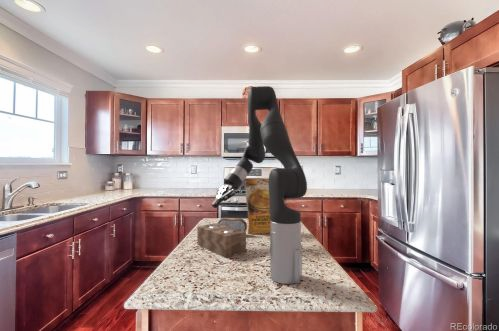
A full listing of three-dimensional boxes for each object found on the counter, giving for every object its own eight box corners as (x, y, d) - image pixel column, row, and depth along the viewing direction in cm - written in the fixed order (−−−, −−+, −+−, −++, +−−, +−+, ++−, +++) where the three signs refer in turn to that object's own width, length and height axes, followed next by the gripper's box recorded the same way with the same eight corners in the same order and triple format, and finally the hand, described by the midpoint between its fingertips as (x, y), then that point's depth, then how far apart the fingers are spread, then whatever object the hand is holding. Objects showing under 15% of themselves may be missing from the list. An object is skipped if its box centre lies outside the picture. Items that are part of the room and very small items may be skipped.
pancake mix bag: (243, 231, 132) (243, 178, 132) (277, 229, 136) (277, 178, 137) (245, 235, 125) (245, 178, 126) (281, 232, 130) (281, 178, 130)
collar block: (245, 252, 100) (246, 231, 100) (225, 257, 93) (225, 236, 93) (216, 240, 116) (216, 223, 116) (197, 244, 109) (197, 226, 109)
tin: (247, 234, 126) (247, 217, 127) (246, 236, 123) (246, 219, 123) (217, 233, 128) (217, 217, 128) (216, 235, 125) (216, 218, 125)
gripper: (223, 172, 120) (200, 199, 112) (240, 172, 110) (216, 202, 102) (232, 182, 124) (210, 210, 115) (249, 183, 114) (227, 214, 105)
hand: (213, 206), depth 109 cm, fingers closed
